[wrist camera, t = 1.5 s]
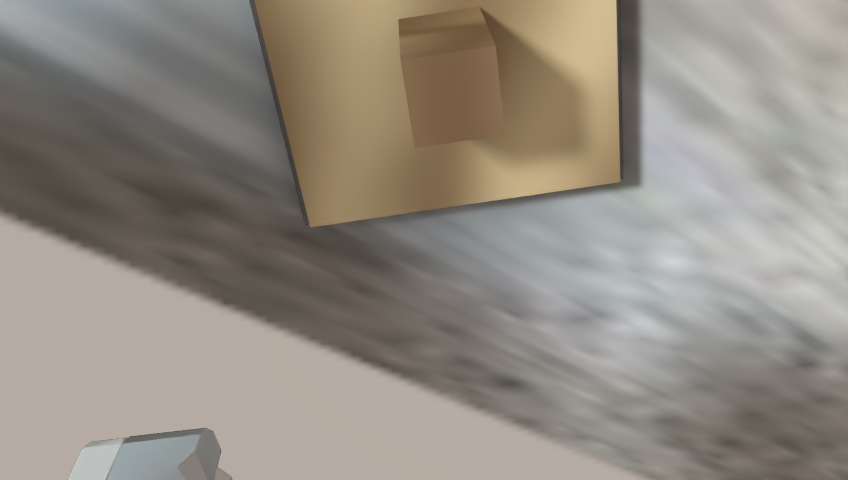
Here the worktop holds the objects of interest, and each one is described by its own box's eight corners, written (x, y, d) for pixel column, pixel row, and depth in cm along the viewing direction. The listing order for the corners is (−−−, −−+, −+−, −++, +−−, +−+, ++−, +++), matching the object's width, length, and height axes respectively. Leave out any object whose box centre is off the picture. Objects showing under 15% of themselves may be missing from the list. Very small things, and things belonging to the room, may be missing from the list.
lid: (312, 216, 27) (299, 293, 23) (233, -109, 22) (198, -84, 18) (614, 172, 27) (655, 242, 23) (605, -169, 22) (657, -158, 18)
